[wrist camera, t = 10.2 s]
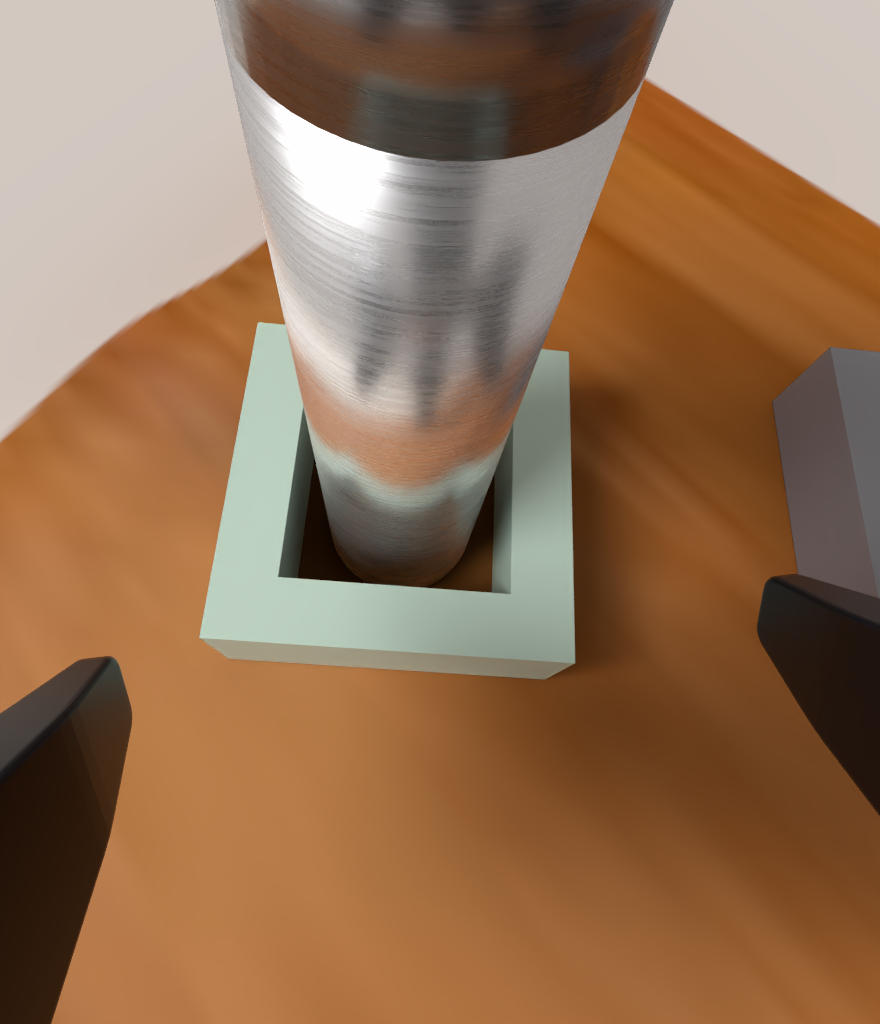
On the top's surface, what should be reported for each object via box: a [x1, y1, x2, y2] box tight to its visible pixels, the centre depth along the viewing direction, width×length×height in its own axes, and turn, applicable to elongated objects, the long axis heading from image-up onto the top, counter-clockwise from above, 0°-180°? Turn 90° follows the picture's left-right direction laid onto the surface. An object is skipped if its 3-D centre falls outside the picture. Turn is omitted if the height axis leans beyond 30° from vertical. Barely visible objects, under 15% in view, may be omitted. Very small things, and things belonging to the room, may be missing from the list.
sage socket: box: [199, 322, 575, 680], centre depth 18 cm, size 8×8×3 cm
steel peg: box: [215, 0, 674, 588], centre depth 12 cm, size 4×4×16 cm
